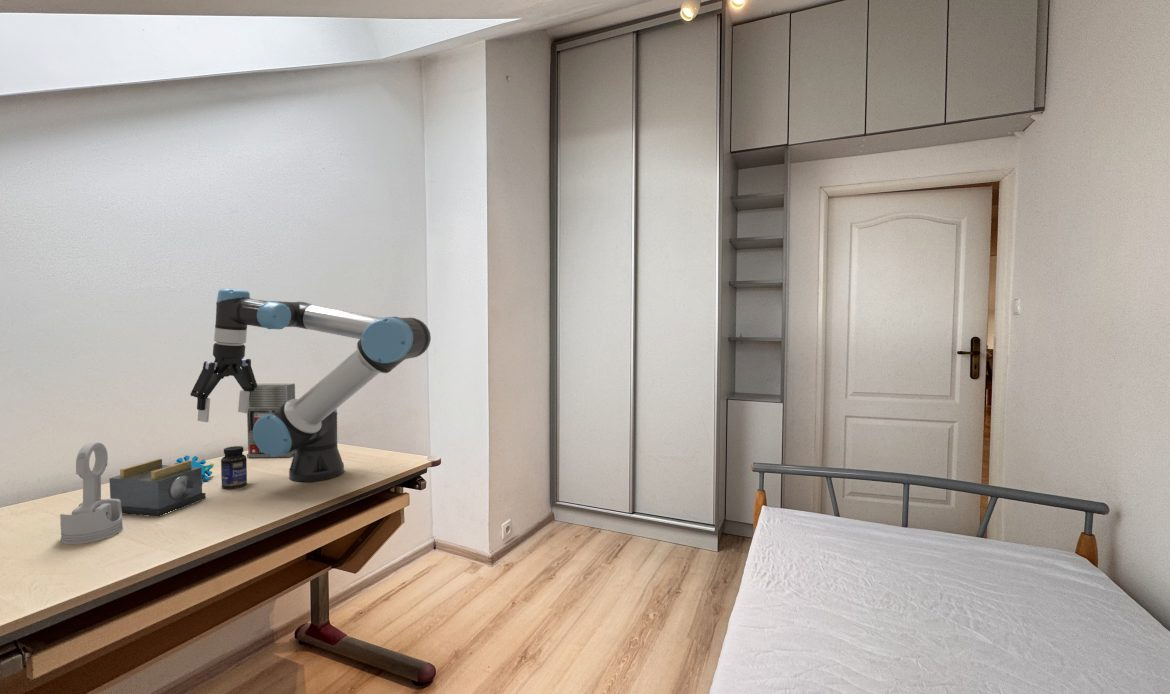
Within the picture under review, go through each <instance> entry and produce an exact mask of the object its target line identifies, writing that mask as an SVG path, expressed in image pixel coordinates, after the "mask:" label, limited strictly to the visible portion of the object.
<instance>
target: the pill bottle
mask: <svg viewBox="0 0 1170 694" xmlns="http://www.w3.org/2000/svg"><path fill="white" fill-rule="evenodd" d="M243 452H244V447H243V446H241V445H235V446H229V447H225V448H223V454H224V456H223V457H222V458H221V459H220V468H221V469H220V473H221V474H220V475H221V478H220V479H221V488H223V489H226V490H227V489H228V490H231V489H232V490H233V489H238V488H241V487H244V486H247V483H248V470H247V469H248V468H247V467H248V466H247V465H248V464H247V455H245V454H244V453H243Z"/></svg>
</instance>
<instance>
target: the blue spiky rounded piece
mask: <svg viewBox="0 0 1170 694" xmlns="http://www.w3.org/2000/svg"><path fill="white" fill-rule="evenodd" d="M190 458H191V457H190V455H184V457H179V458H177V459H176V460H175V461H176V463H174V464H173V465H175V464H178V463H182V462H185V461H191V467H199V468H201V472H202V483H203V482H208V481H209V480H210V478H211V475H212V474H213V471H211V469H213V467H215V465H214V463H210V464H207V465H205V464H206V463H207V460H205V459H201V460H200V461H198V460H199V457H198V456H196V455H193V457H192V458H191V459H192V460H190Z"/></svg>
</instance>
